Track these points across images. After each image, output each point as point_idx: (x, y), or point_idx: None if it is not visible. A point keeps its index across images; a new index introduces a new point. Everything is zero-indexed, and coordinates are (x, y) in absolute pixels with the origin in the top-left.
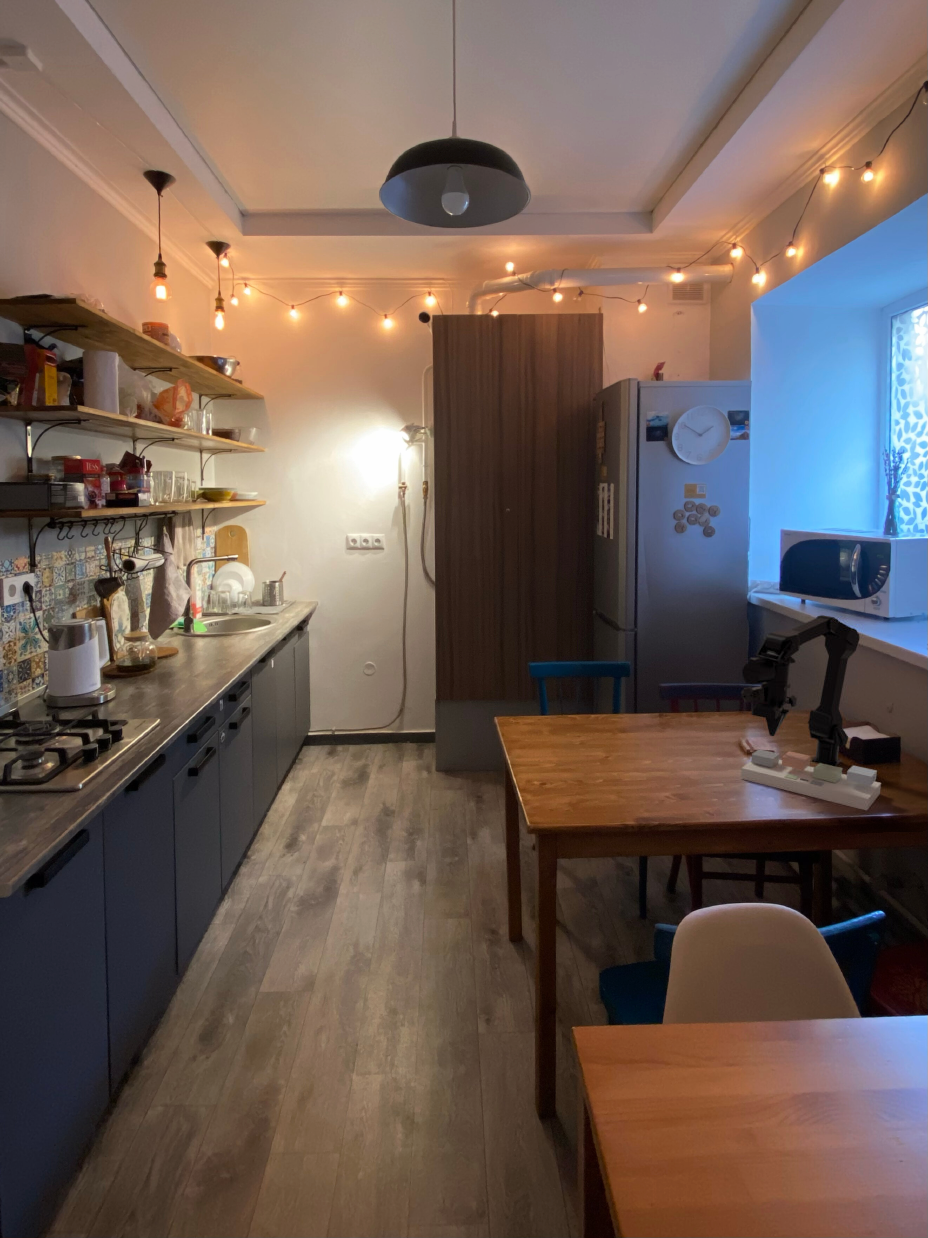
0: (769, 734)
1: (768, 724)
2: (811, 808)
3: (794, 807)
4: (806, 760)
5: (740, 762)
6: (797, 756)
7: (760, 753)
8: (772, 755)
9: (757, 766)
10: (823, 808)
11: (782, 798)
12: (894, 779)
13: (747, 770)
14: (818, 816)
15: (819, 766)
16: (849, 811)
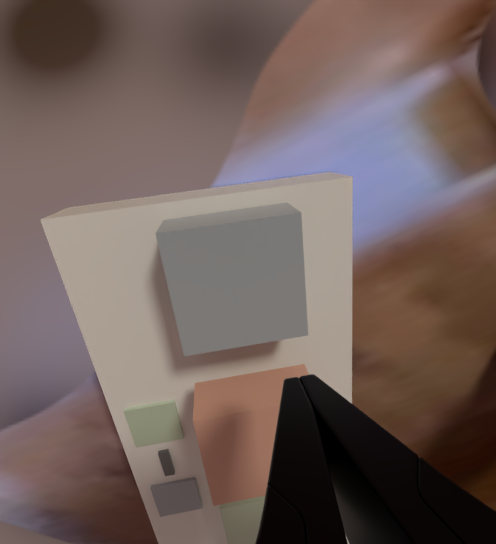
0: (284, 382)
1: (267, 502)
2: (57, 490)
3: (8, 465)
4: (250, 493)
5: (311, 71)
6: (262, 459)
7: (221, 263)
8: (246, 325)
9: (150, 266)
10: (94, 505)
11: (43, 411)
12: (490, 494)
13: (55, 253)
14: (17, 524)
15: None
16: (142, 540)
